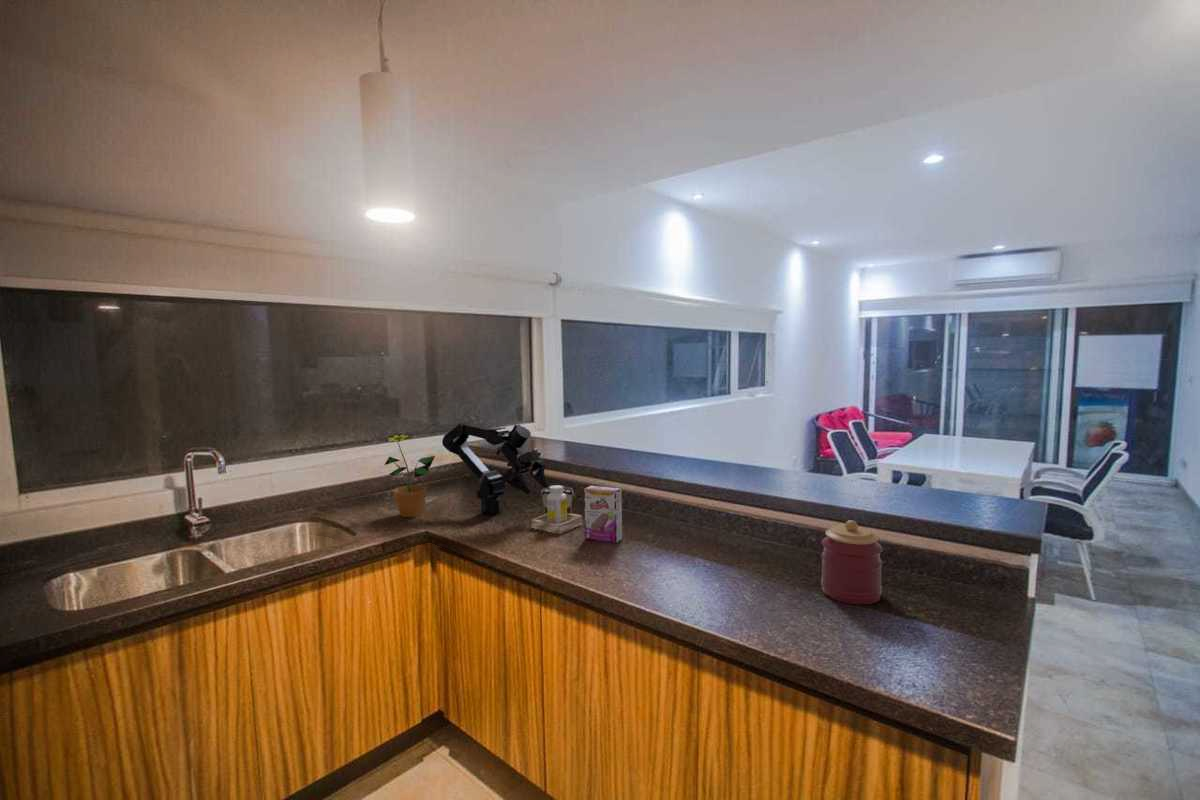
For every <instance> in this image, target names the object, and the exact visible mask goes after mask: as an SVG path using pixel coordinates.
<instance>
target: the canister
mask: <svg viewBox="0 0 1200 800" xmlns="http://www.w3.org/2000/svg"><path fill="white" fill-rule="evenodd" d="M824 533H825V535H826V537H824V538H823V539H822V540H821V545H822V546H823V552H822V553H821V558H822V559H821V560H822V561H821V579H820V582H821V583H820V586H821V588H822V589H821V590H822V592H823V594H825V595H826V596H827V597H829V598H831V599H833V600H835V601H838V602H842V603H845V604H851V605H864V606H865V605H871V604H874V603H877V602H879V601H880V600H881V596H882V593H883V592H882V591H883V590H882V589H883V587H882V566H883V562H882V559H881V555H880V554H881V553H882V552H883V547H882V545H881V544H880V543H879V542H878V541H879V539H880V538H879V536H878V535H877V534H875V533H874V532H872V530H870V529H869V528H866V527H863V526H859V525H858V523H857V522H856V521H855V520H852V519H849V520H847V521H846V522H845V524H837V525H833V526H832V527H831V528H828V529H827V530H825V532H824Z"/></svg>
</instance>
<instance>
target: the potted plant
mask: <svg viewBox="0 0 1200 800" xmlns="http://www.w3.org/2000/svg"><path fill="white" fill-rule="evenodd" d="M409 436H410V435H409V434H407V433H406V434H405V433H399V434H394V435H389V436H388V437H387V438H386V439H385V441H386V442H390V443H397V444H398V447H399V451H400V453H401V456H402V458H403V459H402V460H403V461H404V465H405V466H402V467H401V466H399V465H398V464H397V463H396V462H400V461H401V459H397V458H395V457H392V456H389V457H388V458H387V460H386V461H385V463H384V466H386V465H390V464H392V463H394V464H395V466H396V467H397V469H395V470H393V471H392V472H390V473H389V474H388V476H395V477H396V475H398V474H400V473H402V472H403V471H405V470H406V472H407V477H408V485H404V486H398V487H395V488H394V489H392V494H393V497H394V500H395V503H396V505H397V508H398V511H399V514H400V517H402V518H403V517H409V519H410V517H412V518H417V517H419V515H420V516H422V514H423V510H424V504H425V500H426V495H427V490H428V486H427V485H424V484H423V485H422V484H411V476H412V474H414V478H415V479H416V478H419V477H422V476H424V475H428V474H429V473H430V471H429V468H431V467H432V464H433V461H434V460H435V457H436V456H435V455H431V456H427V457H421V458H419V459H418V460H417V463H416V465H415V466H414V469H413V470H412V472H411V473H410V470H409V467H408V464H407V461H406V459H405V456H404V453H403V452H402V449H401V445H400V441H405V440H407V439H408V437H409ZM419 462H420V463H421V464H423V465H422V466H419V467H417V466H418V463H419Z"/></svg>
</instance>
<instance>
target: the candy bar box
mask: <svg viewBox="0 0 1200 800" xmlns="http://www.w3.org/2000/svg"><path fill="white" fill-rule="evenodd" d="M622 491H623V490H622V488H619V487H618V488H617V487H610V486H609V487H608V486H600V485H599V486H597V485H589V486H587V487H584V489H583V494H584V495H583V497H584V498H583V500H584V538H585V540H590V541H591V540H592V541H598V542H605V543H611V544H618V543H619V542H620V541H621V540H623V510H622V509H623V503H622V500H623V499H622V498H623V492H622Z"/></svg>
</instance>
